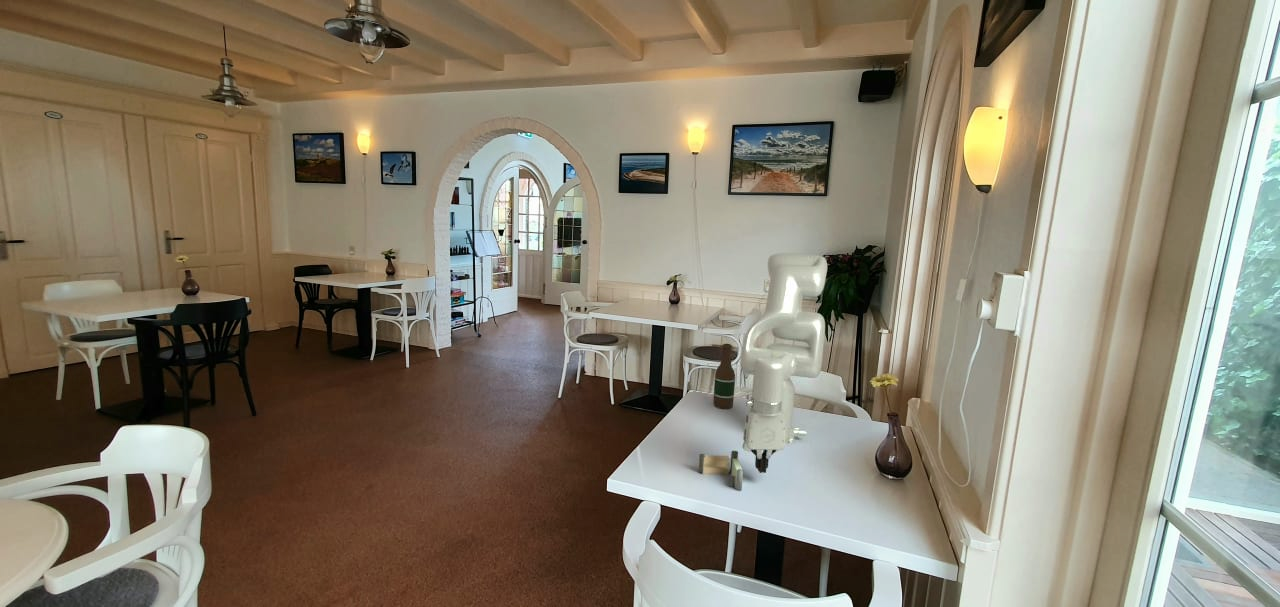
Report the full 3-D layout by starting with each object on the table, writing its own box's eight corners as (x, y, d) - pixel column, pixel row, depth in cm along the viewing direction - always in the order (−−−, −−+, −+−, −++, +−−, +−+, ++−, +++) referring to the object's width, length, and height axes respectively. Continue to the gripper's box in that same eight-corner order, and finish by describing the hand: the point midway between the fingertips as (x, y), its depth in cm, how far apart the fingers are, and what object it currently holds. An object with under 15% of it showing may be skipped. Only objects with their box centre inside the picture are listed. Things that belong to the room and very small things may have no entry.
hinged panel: (731, 475, 138) (732, 457, 137) (736, 475, 138) (738, 457, 137) (736, 490, 130) (737, 471, 129) (742, 490, 130) (743, 471, 129)
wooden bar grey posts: (735, 472, 140) (737, 450, 139) (744, 488, 132) (746, 465, 131) (698, 472, 140) (699, 450, 139) (704, 488, 131) (705, 465, 130)
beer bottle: (735, 404, 195) (740, 343, 192) (730, 410, 188) (734, 348, 185) (715, 400, 199) (720, 341, 195) (710, 407, 192) (714, 345, 188)
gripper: (741, 411, 126) (737, 478, 130) (800, 410, 128) (793, 477, 131) (734, 399, 134) (729, 463, 137) (789, 399, 135) (783, 462, 138)
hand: (761, 470), depth 134 cm, fingers closed
